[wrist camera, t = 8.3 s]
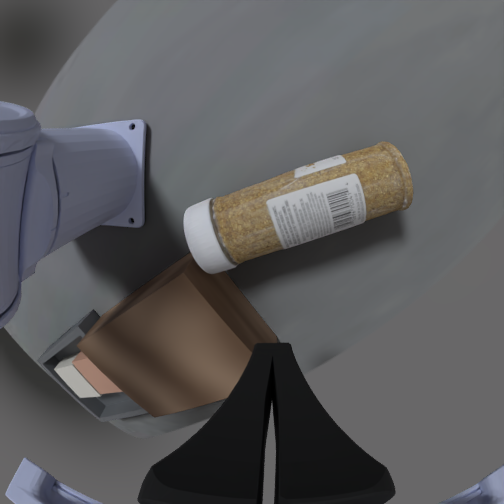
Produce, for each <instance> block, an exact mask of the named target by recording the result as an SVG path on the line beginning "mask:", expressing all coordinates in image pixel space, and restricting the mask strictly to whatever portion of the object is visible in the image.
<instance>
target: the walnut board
mask: <svg viewBox="0 0 504 504" xmlns="http://www.w3.org/2000/svg"><path fill="white" fill-rule="evenodd" d="M256 343H277V336H276V335H275V334H274V333H273V331H272V330H271V329H270V328H269V326H268V325H267V324H266V323H265V321H264V320H263V319H262V318H261V317H260V315H259V314H258V313H257V311H256V310H255V309H254V308H253V306H252V305H251V304H250V303H249V301H248V300H247V299H246V298H245V296H244V295H243V294H242V293H241V291H240V290H239V289H238V287H237V286H236V285H235V284H234V282H233V281H232V280H231V278H230V277H229V276H228V275H227V273H226V272H225V271H222V272H219V273H215V274H209V273H207V272H205V271H204V270H202V268H201V267H200V266H199V265H198V264H197V262H196V261H195V259H194V257H193V256H192V254H191V252H190V253H189V254H187V255H186V256H184V257H183V258H181V259H180V260H178V261H177V262H176V263H174V264H173V265H171V266H170V267H168V268H167V269H166V270H164V271H163V272H161V273H160V274H158V275H157V276H156V277H154V278H153V279H151V280H150V281H149V282H147V283H146V284H144V285H143V286H142V287H140V288H139V289H137V290H136V291H135V292H133V293H132V294H131V295H129V296H128V297H126V298H125V299H124V300H122V301H121V302H120V303H118V304H117V305H116V306H114V307H113V308H111V309H110V310H109V311H107V312H106V313H105V314H103V315H102V316H101V317H100V319H99V320H98V321H97V322H96V323H95V324H94V326H93V327H92V328H91V329H90V330H89V331H88V333H87V334H86V335H85V336H84V337H83V339H82V340H81V341H80V342H79V343H78V345H77V347H78V348H79V349H80V350H81V351H82V352H83V353H84V354H85V356H86V357H87V358H88V359H89V360H90V361H91V362H92V363H93V364H94V365H95V366H96V367H97V368H98V369H99V370H100V371H101V372H102V373H103V374H104V375H105V376H106V377H107V378H108V379H110V380H111V381H112V382H113V383H114V384H115V385H116V386H117V387H118V388H119V389H120V390H122V391H123V392H124V393H125V394H126V395H127V396H128V397H130V398H131V399H132V400H133V401H134V402H136V403H137V404H138V405H139V406H140V407H142V408H143V409H144V410H145V411H147V412H148V413H149V414H151V415H152V416H153V417H159V416H163V415H168V414H172V413H176V412H180V411H184V410H188V409H191V408H195V407H199V406H202V405H206V404H209V403H212V402H216V401H219V400H222V399H225V398H227V397H228V396H229V395H230V393H231V391H232V390H233V388H234V387H235V385H236V384H237V382H238V381H239V379H240V377H241V375H242V373H243V372H244V370H245V368H246V366H247V364H248V362H249V359H250V357H251V355H252V352H253V349H254V345H255V344H256Z"/></svg>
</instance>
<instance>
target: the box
mask: <svg viewBox="0 0 504 504" xmlns="http://www.w3.org/2000/svg"><path fill="white" fill-rule="evenodd" d="M99 319H100V317H99V315H98V314H97V313H96V312H95V311H94V309H93V310H92V311H91V312H90V313H89V314H87V315H86V316H85V317H84V318H82V319H81V320H80V321H79V322H78V323H76V324H75V325H74V326H73V327H72V328H71V329H69V330H68V331H67V332H66V333H65V334H63V335H62V336H61V337H60V338H59V339H58V340H57V341H55V342H54V343H53V344H52V345H51V346H50V347H49V348H48V349H47V350H46V351H45V352H44V353H43V354H42V355H41V357H40V358H39V359H38V360H37V361H38V362H39V363H40V364H41V366H42V367H43V368H44V369H45V370H46V371H47V372H48V373H49V374H50V375H51V376H52V377H53V379H54V380H55V381H56V382H57V383H58V384H59V385H60V386H62V388H63V389H64V390H66V391H67V392H68V393H69V394H70V395H71V396H72V397H73V398H74V399H75V400H76V401H77V402H78V403H79V404H81V405H82V406H83V407H84V408H85V409H86V410H87V411H89V412H90V413H91V414H92V415H93V416H95V417H96V418H97V419H98V420H100V421H101V422H104V421H110V420H116V419H121V418H127V417H132V416H136V415H141V414H145V413H148V412H147V411H145V410H144V409H143V408H142V407H140V406H139V405H138V404H137V403H136V402H134V401H133V400H132V399H131V398H130V397H128V396H127V395H126V394H125V393H124V392H115V393H106V394H102V396H99V397H85V398H80V397H79V396H78V395H77V394H76V393H75V392H74V391H73V390H72V389H71V388H70V387H69V386H68V385H67V384H66V382H65V381H64V380H63V379H62V378H61V377H60V376H59V375H58V373H57V372H56V371H55V370H54V369H55V367H56V366H57V365H58V364H59V362H60V361H61V360H62V359H63V357H66V356H69V355H73V354H76V353H79V352H80V351H81V350H80V349H79V348H78V347H77V345H78V343H79V342H80V341H81V340H82V339H83V337H84V336H85V335H86V334H87V333H88V331H89V330H90V329H91V328H92V327H93V326H94V324H95V323H96V322H97V321H98V320H99Z"/></svg>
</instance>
